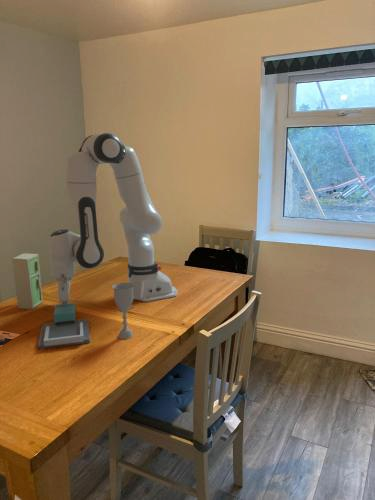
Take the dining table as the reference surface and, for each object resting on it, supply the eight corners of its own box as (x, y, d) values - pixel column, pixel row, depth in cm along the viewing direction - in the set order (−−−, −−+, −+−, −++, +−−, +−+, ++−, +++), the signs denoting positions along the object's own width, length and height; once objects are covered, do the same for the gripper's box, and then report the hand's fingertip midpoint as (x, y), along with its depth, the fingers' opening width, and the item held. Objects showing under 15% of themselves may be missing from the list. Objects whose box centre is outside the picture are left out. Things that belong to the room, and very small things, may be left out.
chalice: (118, 342, 129) (115, 290, 124) (112, 333, 135) (109, 284, 130) (139, 337, 132) (137, 287, 128) (132, 329, 138) (130, 281, 134)
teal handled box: (75, 314, 151) (74, 302, 150) (75, 323, 141) (74, 310, 140) (56, 316, 149) (55, 304, 148) (54, 325, 139) (53, 312, 139)
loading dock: (88, 321, 147) (87, 310, 146) (90, 347, 128) (89, 335, 127) (43, 326, 143) (42, 315, 142) (38, 353, 124) (37, 341, 123)
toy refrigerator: (33, 309, 156) (28, 259, 150) (17, 308, 157) (11, 258, 152) (44, 302, 163) (40, 253, 158) (29, 301, 165) (23, 253, 159)
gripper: (71, 278, 143) (73, 313, 146) (72, 263, 162) (74, 295, 165) (52, 280, 141) (56, 315, 144) (56, 265, 160) (58, 296, 164)
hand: (65, 304), depth 155 cm, fingers open, 8 cm apart
